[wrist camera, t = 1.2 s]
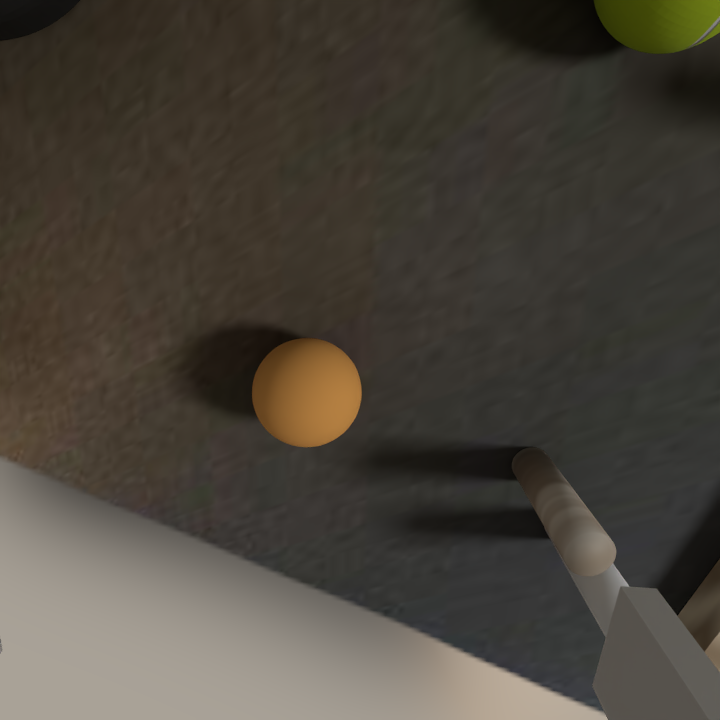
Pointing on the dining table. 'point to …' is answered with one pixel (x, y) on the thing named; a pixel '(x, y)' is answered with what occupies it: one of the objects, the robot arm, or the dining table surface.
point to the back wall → (705, 615)
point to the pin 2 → (599, 592)
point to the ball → (306, 392)
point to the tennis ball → (660, 23)
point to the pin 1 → (563, 514)
